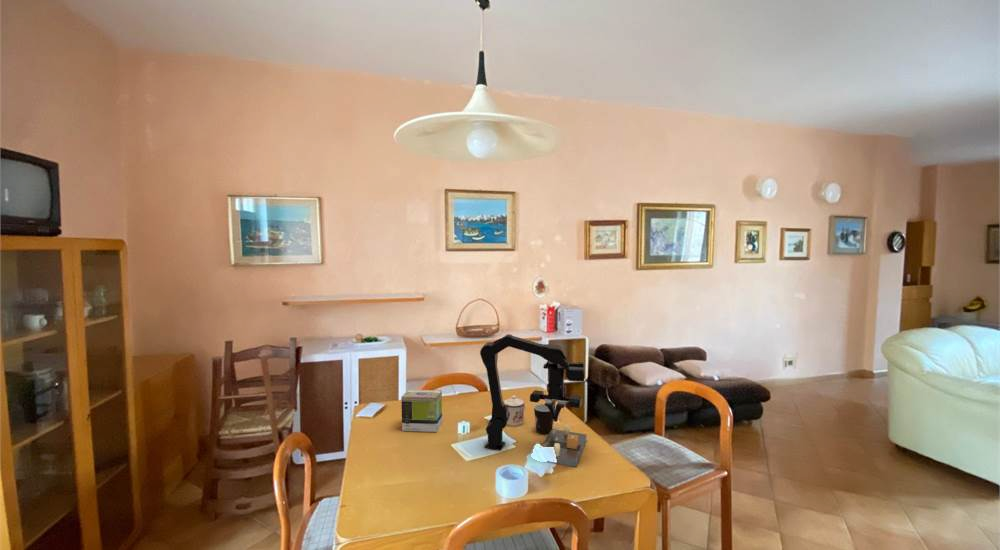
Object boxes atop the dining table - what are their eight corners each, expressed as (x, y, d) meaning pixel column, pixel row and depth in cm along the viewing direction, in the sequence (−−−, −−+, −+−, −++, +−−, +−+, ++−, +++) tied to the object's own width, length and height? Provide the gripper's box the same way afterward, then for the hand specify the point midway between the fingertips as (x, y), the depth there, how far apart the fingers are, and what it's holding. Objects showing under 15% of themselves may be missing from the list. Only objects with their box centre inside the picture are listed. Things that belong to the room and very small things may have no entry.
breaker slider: (576, 449, 151) (576, 439, 151) (566, 447, 152) (567, 437, 152) (578, 444, 154) (578, 435, 154) (568, 443, 155) (568, 433, 155)
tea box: (442, 423, 180) (442, 389, 180) (436, 433, 170) (436, 397, 170) (408, 421, 182) (408, 388, 181) (401, 431, 172) (400, 396, 171)
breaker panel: (576, 467, 143) (576, 459, 143) (537, 460, 148) (537, 452, 148) (586, 440, 164) (586, 434, 164) (551, 435, 169) (551, 428, 169)
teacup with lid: (515, 428, 175) (515, 401, 174) (498, 422, 181) (498, 396, 180) (532, 420, 184) (532, 394, 183) (516, 414, 190) (516, 389, 189)
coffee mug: (553, 436, 167) (554, 412, 167) (532, 434, 169) (532, 410, 168) (555, 425, 179) (556, 402, 178) (535, 423, 180) (535, 400, 180)
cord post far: (568, 437, 161) (568, 427, 161) (563, 436, 162) (563, 426, 162) (569, 435, 163) (569, 425, 163) (564, 434, 164) (564, 424, 163)
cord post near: (559, 457, 145) (559, 445, 145) (553, 456, 146) (553, 445, 146) (560, 454, 147) (560, 443, 147) (554, 453, 148) (555, 442, 148)
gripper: (584, 376, 159) (584, 416, 159) (537, 371, 165) (537, 410, 166) (579, 385, 148) (579, 428, 149) (529, 379, 155) (529, 420, 156)
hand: (555, 421), depth 155 cm, fingers closed
